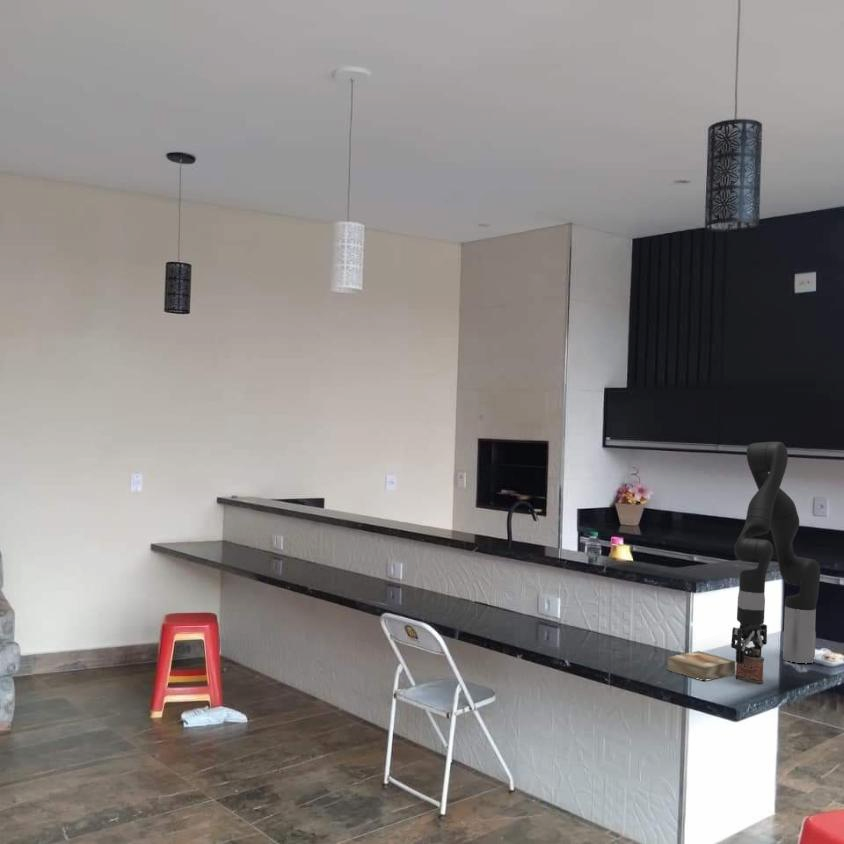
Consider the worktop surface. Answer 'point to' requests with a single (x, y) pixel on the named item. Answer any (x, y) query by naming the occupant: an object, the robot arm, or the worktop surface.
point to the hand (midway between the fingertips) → (748, 661)
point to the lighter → (750, 667)
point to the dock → (701, 665)
